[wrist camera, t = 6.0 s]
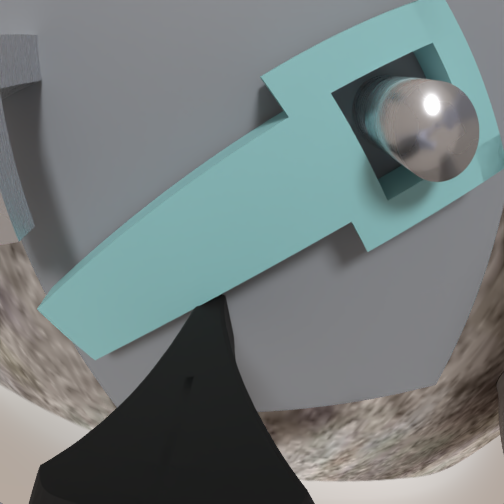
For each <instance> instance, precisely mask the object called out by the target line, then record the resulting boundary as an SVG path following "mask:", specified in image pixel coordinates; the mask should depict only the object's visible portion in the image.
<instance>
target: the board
mask: <svg viewBox="0 0 504 504" xmlns="http://www.w3.org/2000/svg"><path fill="white" fill-rule="evenodd" d="M414 1H417V0H0V35H5V34H25V35H37V40H38V51H39V61H40V69H41V76H42V81H39V82H37V83H35V84H33V85H31V86H29V87H26V88H24V89H22V90H20V91H18V92H16V93H14V94H12V95H10V96H8V97H7V98H5V99H3V100H2V105H3V111H4V117H5V122H6V127H7V131H8V136H9V140H10V145H11V149H12V153H13V157H14V161H15V164H16V168H17V172H18V175H19V179H20V182H21V185H22V189H23V192H24V195H25V198H26V201H27V204H28V207H29V210H30V213H31V216H32V218H33V221H34V224H35V227H34V228H33V229H32V230H31V231H29V232H28V233H27V234H26V235H25V236H24V237H23V238H22V239H21V241H22V243H23V246H24V248H25V251H26V253H27V255H28V258H29V260H30V262H31V264H32V267H33V269H34V271H35V273H36V275H37V277H38V279H39V281H40V284H41V286H42V288H43V290H44V292H45V294H46V295H47V294H48V292H49V291H50V290H51V288H52V287H53V286H54V285H55V284H56V283H57V282H58V281H59V280H61V279H62V278H63V277H64V276H65V275H66V274H67V273H68V272H69V271H70V270H71V269H72V268H74V267H75V266H76V265H77V264H78V263H79V262H80V261H81V260H82V259H84V258H85V257H86V256H87V255H88V254H89V253H90V252H91V251H93V250H94V249H95V248H96V247H97V246H98V245H99V244H101V243H102V242H103V241H104V240H105V239H106V238H108V237H109V236H110V235H111V234H112V233H114V232H115V231H116V230H117V229H118V228H120V227H121V226H122V225H123V224H124V223H126V222H127V221H128V220H129V219H131V218H132V217H133V216H134V215H136V214H137V213H138V212H139V211H141V210H142V209H143V208H144V207H146V206H147V205H148V204H149V203H151V202H152V201H153V200H155V199H156V198H157V197H158V196H160V195H161V194H162V193H164V192H165V191H166V190H168V189H169V188H170V187H172V186H173V185H174V184H176V183H177V182H178V181H180V180H181V179H182V178H184V177H185V176H187V175H188V174H189V173H191V172H192V171H193V170H195V169H196V168H198V167H199V166H200V165H202V164H203V163H205V162H206V161H208V160H209V159H210V158H212V157H213V156H215V155H216V154H218V153H219V152H221V151H222V150H223V149H225V148H226V147H228V146H229V145H231V144H232V143H234V142H235V141H237V140H238V139H240V138H241V137H243V136H244V135H246V134H247V133H249V132H251V131H252V130H254V129H255V128H257V127H258V126H260V125H262V124H263V123H265V122H266V121H268V120H269V119H271V118H273V117H274V116H276V115H278V114H279V113H281V112H282V111H283V110H282V108H281V107H280V105H279V104H278V102H277V101H276V99H275V98H274V97H273V95H272V94H271V92H270V91H269V89H268V88H267V87H266V85H265V84H264V82H263V81H262V80H261V78H260V76H262V75H264V74H265V73H267V72H269V71H270V70H272V69H274V68H275V67H277V66H279V65H280V64H282V63H284V62H286V61H287V60H289V59H291V58H293V57H294V56H296V55H298V54H300V53H302V52H303V51H305V50H307V49H309V48H311V47H313V46H315V45H316V44H318V43H320V42H322V41H324V40H326V39H328V38H330V37H332V36H334V35H336V34H338V33H340V32H342V31H344V30H347V29H349V28H351V27H353V26H355V25H357V24H360V23H362V22H364V21H366V20H369V19H371V18H373V17H376V16H378V15H380V14H383V13H385V12H388V11H390V10H393V9H395V8H398V7H400V6H403V5H406V4H408V3H411V2H414ZM446 2H447V4H448V6H449V7H450V9H451V11H452V13H453V15H454V17H455V19H456V21H457V23H458V25H459V27H460V29H461V31H462V33H463V35H464V37H465V39H466V41H467V43H468V45H469V48H470V50H471V52H472V55H473V57H474V59H475V62H476V64H477V67H478V69H479V72H480V74H481V77H482V80H483V82H484V85H485V88H486V91H487V94H488V97H489V100H490V103H491V106H492V109H493V112H494V115H495V119H496V122H497V126H498V130H499V133H500V137H501V141H502V145H503V149H504V0H446ZM379 75H392V76H404V77H414V78H422V79H426V77H425V74H424V72H423V70H422V68H421V66H420V64H419V62H418V60H417V58H416V56H415V54H414V52H411V53H409V54H406V55H404V56H402V57H400V58H398V59H396V60H394V61H392V62H390V63H388V64H385V65H383V66H381V67H379V68H377V69H375V70H373V71H372V72H370V73H368V74H366V75H364V76H362V77H360V78H358V79H356V80H354V81H352V82H350V83H349V84H347V85H345V86H343V87H341V88H339V89H337V90H336V91H334V92H332V93H331V94H332V96H333V98H334V99H335V101H336V103H337V104H338V106H339V108H340V110H341V111H342V113H343V115H344V116H345V118H346V120H347V122H348V123H349V125H350V127H351V129H352V131H353V132H354V134H355V136H356V138H357V140H358V142H359V143H360V145H361V147H362V149H363V151H364V153H365V155H366V157H367V159H368V161H369V163H370V165H371V167H372V169H373V171H374V173H375V175H376V177H377V179H379V178H381V177H383V176H384V175H386V174H388V173H390V172H391V171H393V170H395V169H397V168H398V167H400V166H402V164H400V163H399V162H398V161H396V160H395V159H393V158H392V157H390V156H389V155H388V154H386V153H385V152H383V151H382V150H380V149H379V148H377V147H376V146H374V145H373V144H371V143H370V142H368V141H367V140H366V139H365V138H364V137H363V136H362V135H361V134H360V133H359V131H358V130H357V128H356V126H355V123H354V120H353V114H352V105H353V100H354V96H355V94H356V92H357V90H358V89H359V87H360V86H361V85H362V84H363V83H364V82H365V81H367V80H368V79H370V78H372V77H375V76H379ZM503 205H504V169H503V170H501V171H500V172H498V173H497V174H495V175H494V176H492V177H491V178H489V179H488V180H486V181H484V182H483V183H481V184H480V185H478V186H477V187H475V188H474V189H472V190H471V191H469V192H467V193H466V194H464V195H463V196H461V197H459V198H458V199H456V200H455V201H453V202H452V203H450V204H448V205H447V206H445V207H443V208H442V209H440V210H439V211H437V212H435V213H434V214H432V215H430V216H429V217H427V218H425V219H424V220H422V221H420V222H419V223H417V224H415V225H414V226H412V227H410V228H409V229H407V230H405V231H404V232H402V233H400V234H398V235H397V236H395V237H393V238H392V239H390V240H388V241H386V242H385V243H383V244H381V245H379V246H378V247H376V248H374V249H372V250H371V251H369V252H367V250H366V248H365V246H364V245H363V243H362V241H361V239H360V237H359V236H358V234H357V232H356V231H355V229H354V227H353V225H352V223H351V222H350V223H348V224H347V225H345V226H343V227H341V228H340V229H338V230H336V231H334V232H333V233H331V234H329V235H327V236H326V237H324V238H322V239H320V240H318V241H317V242H315V243H313V244H311V245H310V246H308V247H306V248H304V249H302V250H301V251H299V252H297V253H295V254H294V255H292V256H290V257H288V258H286V259H285V260H283V261H281V262H279V263H277V264H275V265H274V266H272V267H270V268H268V269H266V270H265V271H263V272H261V273H259V274H257V275H256V276H254V277H252V278H250V279H248V280H246V281H245V282H243V283H241V284H239V285H237V286H235V287H234V288H232V289H230V290H228V291H226V292H224V293H223V295H225V296H226V300H227V305H228V310H229V315H230V320H231V324H232V329H233V334H234V345H235V358H236V364H237V367H238V369H239V372H240V375H241V377H242V380H243V382H244V385H245V387H246V389H247V391H248V394H249V396H250V398H251V400H252V402H253V404H254V406H255V408H256V410H257V412H267V411H281V410H293V409H304V408H313V407H321V406H329V405H337V404H344V403H350V402H356V401H362V400H368V399H374V398H379V397H384V396H389V395H394V394H398V393H403V392H407V391H412V390H416V389H420V388H424V387H428V386H432V385H436V383H437V381H438V379H439V378H440V376H441V374H442V372H443V370H444V368H445V366H446V364H447V362H448V360H449V358H450V356H451V354H452V352H453V350H454V348H455V346H456V344H457V342H458V339H459V337H460V335H461V333H462V331H463V328H464V326H465V324H466V321H467V319H468V317H469V314H470V312H471V309H472V307H473V304H474V302H475V299H476V296H477V294H478V291H479V288H480V285H481V283H482V280H483V277H484V274H485V271H486V268H487V265H488V262H489V258H490V255H491V252H492V248H493V245H494V241H495V238H496V234H497V230H498V226H499V222H500V218H501V214H502V209H503ZM192 311H193V310H191V311H189V312H187V313H185V314H183V315H181V316H179V317H178V318H176V319H174V320H172V321H170V322H168V323H166V324H164V325H162V326H161V327H159V328H157V329H155V330H153V331H151V332H149V333H147V334H145V335H143V336H141V337H139V338H138V339H136V340H134V341H132V342H130V343H128V344H126V345H124V346H122V347H120V348H118V349H116V350H114V351H112V352H110V353H108V354H106V355H104V356H103V357H101V358H99V359H97V360H94V359H93V358H91V357H90V356H89V355H88V354H87V353H85V352H84V351H83V350H82V349H81V348H79V347H78V346H77V345H76V344H75V343H73V344H74V345H75V347H76V349H77V350H78V352H79V354H80V355H81V357H82V358H83V360H84V361H85V363H86V364H87V366H88V367H89V369H90V370H91V372H92V373H93V375H94V376H95V378H96V379H97V381H98V382H99V384H100V385H101V386H102V388H103V389H104V391H105V392H106V393H107V395H108V396H109V397H110V399H111V400H112V401H113V403H114V404H115V405H116V407H118V406H119V405H120V404H121V403H122V402H123V401H124V400H125V399H126V398H127V397H128V396H129V395H130V394H131V393H132V392H133V391H134V390H135V389H136V388H137V387H138V386H139V384H140V383H141V382H142V381H143V380H144V379H145V377H146V376H147V375H148V374H149V373H150V371H151V370H152V369H153V368H154V366H155V365H156V364H157V362H158V361H159V360H160V358H161V357H162V356H163V354H164V353H165V352H166V350H167V349H168V348H169V346H170V345H171V343H172V342H173V340H174V339H175V337H176V336H177V334H178V333H179V331H180V330H181V328H182V327H183V325H184V324H185V322H186V320H187V319H188V317H189V316H190V314H191V312H192Z"/></svg>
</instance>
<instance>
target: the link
mask: <svg viewBox="0 0 504 504" xmlns="http://www.w3.org/2000/svg"><path fill="white" fill-rule="evenodd" d="M411 52H414V54H415V56H416V58H417V60H418V62H419V64H420V66H421V68H422V70H423V72H424V74H425V77H426V79H430V80H437V81H444V82H448V83H450V84H453V85H455V86H456V87H458V88H459V89H460V90H462V91H463V92H464V93H465V94H466V95H467V96H468V98H469V99H470V101H471V102H472V104H473V106H474V108H475V110H476V113H477V117H478V121H479V142H478V146H477V150H476V153H475V155H474V157H473V159H472V161H471V162H470V164H469V165H468V166H467V168H466V169H465V170H464V171H463V172H462V173H460V174H459V175H458V176H456V177H454V178H453V179H450V180H448V181H443V182H431V181H427V180H424V179H422V178H420V177H418V176H417V175H415V174H414V173H413V172H411V171H410V170H409V169H407V168H406V167H405V166H403V165H402V166H400V167H398V168H397V169H395V170H393V171H391V172H390V173H388V174H386V175H384V176H383V177H381V178H379V179H377V177H376V175H375V173H374V171H373V169H372V167H371V165H370V163H369V161H368V159H367V157H366V155H365V153H364V151H363V149H362V147H361V145H360V143H359V142H358V140H357V138H356V136H355V134H354V132H353V131H352V129H351V127H350V125H349V123H348V122H347V120H346V118H345V116H344V115H343V113H342V111H341V110H340V108H339V106H338V104H337V103H336V101H335V99H334V98H333V96H332V94H331V93H332V92H334V91H336V90H337V89H339V88H341V87H343V86H345V85H347V84H349V83H350V82H352V81H354V80H356V79H358V78H360V77H362V76H364V75H366V74H368V73H370V72H372V71H373V70H375V69H377V68H379V67H381V66H383V65H385V64H388V63H390V62H392V61H394V60H396V59H398V58H400V57H402V56H404V55H406V54H409V53H411ZM260 78H261V80H262V81H263V82H264V84H265V85H266V87H267V88H268V89H269V91H270V92H271V94H272V95H273V97H274V98H275V99H276V101H277V102H278V104H279V105H280V107H281V108H282V110H283V111H282V112H281V113H279V114H278V115H276V116H274V117H273V118H271V119H269V120H268V121H266V122H265V123H263V124H262V125H260V126H258V127H257V128H255V129H254V130H252V131H251V132H249V133H247V134H246V135H244V136H243V137H241V138H240V139H238V140H237V141H235V142H234V143H232V144H231V145H229V146H228V147H226V148H225V149H223V150H222V151H221V152H219V153H218V154H216V155H215V156H213V157H212V158H210V159H209V160H208V161H206V162H205V163H203V164H202V165H200V166H199V167H198V168H196V169H195V170H193V171H192V172H191V173H189V174H188V175H187V176H185V177H184V178H182V179H181V180H180V181H178V182H177V183H176V184H174V185H173V186H172V187H170V188H169V189H168V190H166V191H165V192H164V193H162V194H161V195H160V196H158V197H157V198H156V199H155V200H153V201H152V202H151V203H149V204H148V205H147V206H146V207H144V208H143V209H142V210H141V211H139V212H138V213H137V214H136V215H134V216H133V217H132V218H131V219H129V220H128V221H127V222H126V223H124V224H123V225H122V226H121V227H120V228H118V229H117V230H116V231H115V232H114V233H112V234H111V235H110V236H109V237H108V238H106V239H105V240H104V241H103V242H102V243H101V244H99V245H98V246H97V247H96V248H95V249H94V250H93V251H91V252H90V253H89V254H88V255H87V256H86V257H85V258H84V259H82V260H81V261H80V262H79V263H78V264H77V265H76V266H75V267H74V268H72V269H71V270H70V271H69V272H68V273H67V274H66V275H65V276H64V277H63V278H62V279H61V280H59V281H58V282H57V283H56V284H55V285H54V286H53V287H52V288H51V290H50V291H49V292H48V294H47V295H46V297H45V298H44V300H43V301H42V303H41V304H40V306H39V307H38V309H37V310H38V311H40V312H41V313H42V314H43V315H44V316H45V317H46V318H47V319H48V320H49V321H50V322H51V323H52V324H53V325H54V326H55V327H57V328H58V329H59V330H60V331H61V332H62V333H63V334H64V335H65V336H67V337H68V338H69V339H70V340H71V341H72V342H73V343H75V344H76V345H77V346H78V347H79V348H81V349H82V350H83V351H84V352H85V353H87V354H88V355H89V356H90V357H91V358H93V359H94V360H97V359H99V358H101V357H103V356H104V355H106V354H108V353H110V352H112V351H114V350H116V349H118V348H120V347H122V346H124V345H126V344H128V343H130V342H132V341H134V340H136V339H138V338H139V337H141V336H143V335H145V334H147V333H149V332H151V331H153V330H155V329H157V328H159V327H161V326H162V325H164V324H166V323H168V322H170V321H172V320H174V319H176V318H178V317H179V316H181V315H183V314H185V313H187V312H189V311H191V310H193V309H194V308H195V307H196V306H200V305H202V304H204V303H206V302H208V301H209V300H211V299H213V298H215V297H217V296H219V295H221V294H222V293H224V292H226V291H228V290H230V289H232V288H234V287H235V286H237V285H239V284H241V283H243V282H245V281H246V280H248V279H250V278H252V277H254V276H256V275H257V274H259V273H261V272H263V271H265V270H266V269H268V268H270V267H272V266H274V265H275V264H277V263H279V262H281V261H283V260H285V259H286V258H288V257H290V256H292V255H294V254H295V253H297V252H299V251H301V250H302V249H304V248H306V247H308V246H310V245H311V244H313V243H315V242H317V241H318V240H320V239H322V238H324V237H326V236H327V235H329V234H331V233H333V232H334V231H336V230H338V229H340V228H341V227H343V226H345V225H347V224H348V223H350V222H351V223H352V225H353V227H354V229H355V231H356V232H357V234H358V236H359V237H360V239H361V241H362V243H363V245H364V246H365V248H366V250H367V252H369V251H371V250H372V249H374V248H376V247H378V246H379V245H381V244H383V243H385V242H386V241H388V240H390V239H392V238H393V237H395V236H397V235H398V234H400V233H402V232H404V231H405V230H407V229H409V228H410V227H412V226H414V225H415V224H417V223H419V222H420V221H422V220H424V219H425V218H427V217H429V216H430V215H432V214H434V213H435V212H437V211H439V210H440V209H442V208H443V207H445V206H447V205H448V204H450V203H452V202H453V201H455V200H456V199H458V198H459V197H461V196H463V195H464V194H466V193H467V192H469V191H471V190H472V189H474V188H475V187H477V186H478V185H480V184H481V183H483V182H484V181H486V180H488V179H489V178H491V177H492V176H494V175H495V174H497V173H498V172H500V171H501V170H503V169H504V149H503V145H502V141H501V137H500V133H499V130H498V126H497V122H496V119H495V115H494V112H493V109H492V106H491V103H490V100H489V97H488V94H487V91H486V88H485V85H484V82H483V80H482V77H481V74H480V72H479V69H478V67H477V64H476V62H475V59H474V57H473V55H472V52H471V50H470V48H469V45H468V43H467V41H466V39H465V37H464V35H463V33H462V31H461V29H460V27H459V25H458V23H457V21H456V19H455V17H454V15H453V13H452V11H451V9H450V7H449V6H448V4H447V2H446V0H417V1H414V2H411V3H408V4H406V5H403V6H400V7H398V8H395V9H393V10H390V11H388V12H385V13H383V14H380V15H378V16H376V17H373V18H371V19H369V20H366V21H364V22H362V23H360V24H357V25H355V26H353V27H351V28H349V29H347V30H344V31H342V32H340V33H338V34H336V35H334V36H332V37H330V38H328V39H326V40H324V41H322V42H320V43H318V44H316V45H315V46H313V47H311V48H309V49H307V50H305V51H303V52H302V53H300V54H298V55H296V56H294V57H293V58H291V59H289V60H287V61H286V62H284V63H282V64H280V65H279V66H277V67H275V68H274V69H272V70H270V71H269V72H267V73H265V74H264V75H262V76H260Z"/></svg>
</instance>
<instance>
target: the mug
mask: <svg viewBox="0 0 504 504" xmlns="http://www.w3.org/2000/svg"><path fill="white" fill-rule="evenodd" d="M497 391H498V398H499V427H500V435H501V442H502V448H503V453H504V372H503V373H502V375H501V376H500V378H499V380H498V382H497Z"/></svg>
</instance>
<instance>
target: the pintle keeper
mask: <svg viewBox="0 0 504 504" xmlns="http://www.w3.org/2000/svg"><path fill="white" fill-rule="evenodd" d="M39 81H42V76H41V69H40V61H39V51H38V40H37V35H25V34H5V35H0V245H2V244H8V243H14V242H19V241H20V240H21V239H22V238H23V237H24V236H25V235H26V234H27V233H28V232H29V231H31V230H32V229H33V228H34V227H35V224H34V221H33V218H32V216H31V213H30V210H29V207H28V204H27V201H26V198H25V195H24V192H23V189H22V185H21V182H20V179H19V175H18V172H17V168H16V164H15V161H14V157H13V153H12V149H11V145H10V140H9V136H8V131H7V127H6V122H5V117H4V111H3V105H2V100H3V99H5V98H7V97H8V96H10V95H12V94H14V93H16V92H18V91H20V90H22V89H24V88H26V87H29V86H31V85H33V84H35V83H37V82H39ZM352 114H353V120H354V123H355V126H356V128H357V130H358V131H359V133H360V134H361V135H362V136H363V137H364V138H365V139H366V140H367V141H368V142H370V143H371V144H373V145H374V146H376V147H377V148H379V149H380V150H382V151H383V152H385V153H386V154H388V155H389V156H390V157H392V158H393V159H395V160H396V161H398V162H399V163H400V164H402V165H403V166H405V167H406V168H407V169H409V170H410V171H411V172H413V173H414V174H415V175H417V176H418V177H420V178H422V179H424V180H427V181H431V182H443V181H448V180H450V179H453V178H454V177H456V176H458V175H459V174H460V173H462V172H463V171H464V170H465V169H466V168H467V166H468V165H469V164H470V162H471V161H472V159H473V157H474V155H475V153H476V150H477V146H478V142H479V121H478V117H477V113H476V110H475V108H474V106H473V104H472V102H471V101H470V99H469V98H468V96H467V95H466V94H465V93H464V92H463V91H462V90H460V89H459V88H458V87H456V86H455V85H453V84H450V83H448V82H444V81H437V80H430V79H422V78H414V77H404V76H392V75H379V76H375V77H372V78H370V79H368V80H367V81H365V82H364V83H363V84H362V85H361V86H360V87H359V89H358V90H357V92H356V94H355V96H354V100H353V105H352Z"/></svg>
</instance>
